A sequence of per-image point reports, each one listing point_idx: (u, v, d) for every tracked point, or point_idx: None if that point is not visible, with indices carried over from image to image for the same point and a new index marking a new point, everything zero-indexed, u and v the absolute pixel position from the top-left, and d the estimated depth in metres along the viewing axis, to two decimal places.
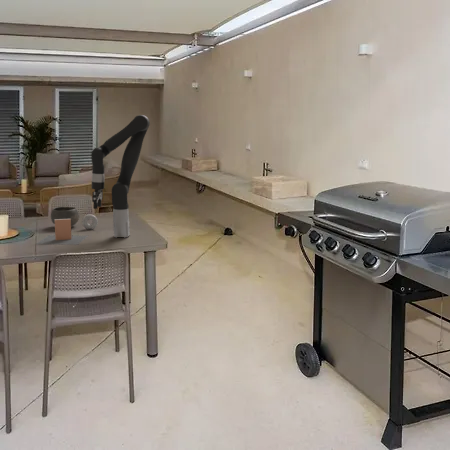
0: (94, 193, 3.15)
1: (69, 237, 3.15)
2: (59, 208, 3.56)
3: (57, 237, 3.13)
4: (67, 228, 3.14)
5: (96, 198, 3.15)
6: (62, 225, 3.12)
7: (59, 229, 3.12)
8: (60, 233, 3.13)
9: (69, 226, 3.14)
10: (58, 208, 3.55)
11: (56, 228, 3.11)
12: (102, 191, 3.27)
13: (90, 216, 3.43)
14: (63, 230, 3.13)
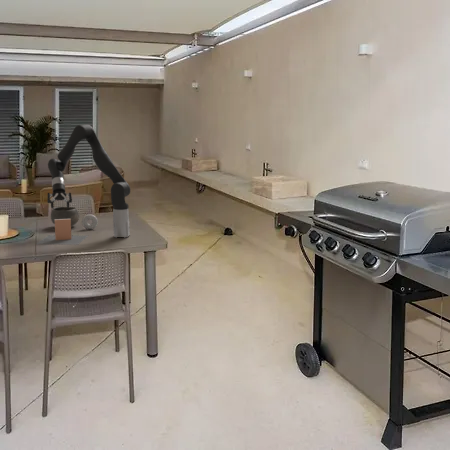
0: None
1: (69, 237, 3.15)
2: (59, 208, 3.56)
3: (57, 237, 3.13)
4: (67, 228, 3.14)
5: None
6: (62, 225, 3.12)
7: (59, 229, 3.12)
8: (60, 233, 3.13)
9: (69, 226, 3.14)
10: (58, 208, 3.55)
11: (56, 228, 3.11)
12: (69, 193, 3.28)
13: (90, 216, 3.43)
14: (63, 230, 3.13)
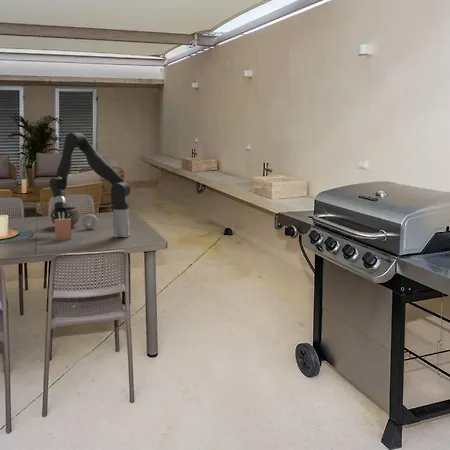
0: (51, 217, 3.21)
1: (69, 237, 3.15)
2: None
3: (57, 237, 3.13)
4: (67, 228, 3.14)
5: (54, 219, 3.20)
6: (62, 225, 3.12)
7: (59, 229, 3.12)
8: (60, 233, 3.13)
9: (69, 226, 3.14)
10: None
11: (56, 228, 3.11)
12: (70, 215, 3.24)
13: (90, 216, 3.43)
14: (63, 230, 3.13)
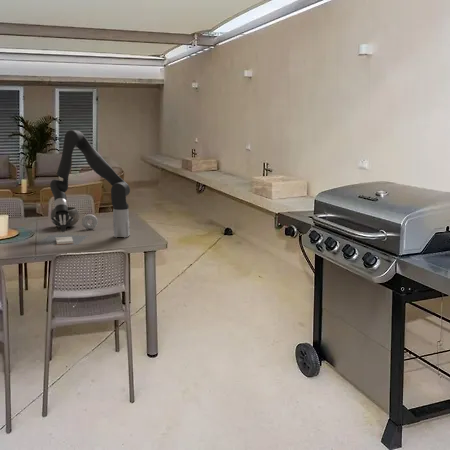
0: (52, 220, 3.13)
1: None
2: None
3: None
4: None
5: (55, 222, 3.12)
6: None
7: None
8: None
9: None
10: None
11: None
12: (71, 218, 3.16)
13: (90, 216, 3.43)
14: None
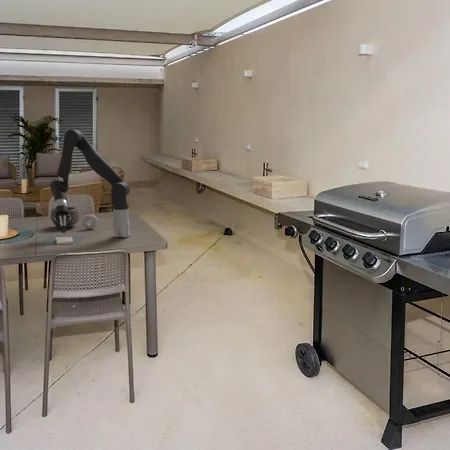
0: (52, 221, 3.10)
1: None
2: None
3: None
4: None
5: (56, 223, 3.09)
6: None
7: None
8: None
9: None
10: None
11: None
12: (72, 218, 3.13)
13: (90, 216, 3.43)
14: None
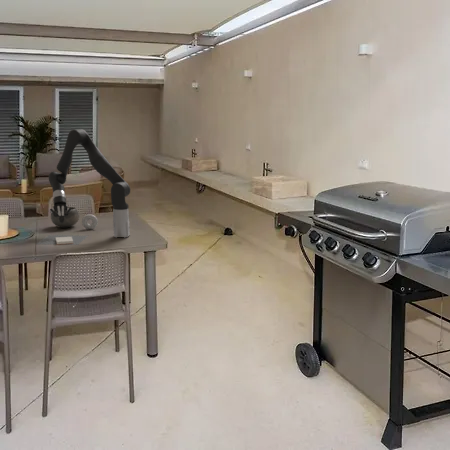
0: (50, 211, 3.21)
1: None
2: None
3: None
4: None
5: (54, 213, 3.20)
6: None
7: None
8: None
9: None
10: None
11: None
12: (69, 209, 3.24)
13: (90, 216, 3.43)
14: None
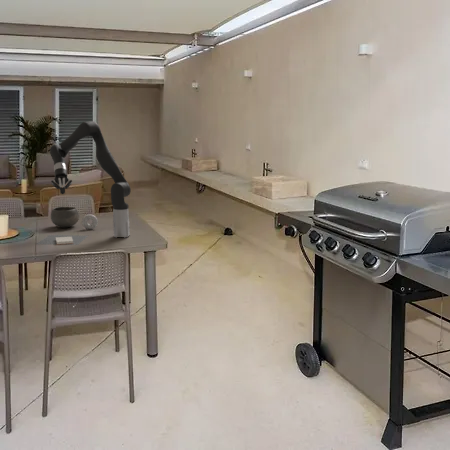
0: (51, 183, 3.26)
1: None
2: (59, 208, 3.56)
3: None
4: None
5: (55, 184, 3.24)
6: None
7: None
8: None
9: None
10: (58, 208, 3.55)
11: None
12: (70, 181, 3.29)
13: (90, 216, 3.43)
14: None
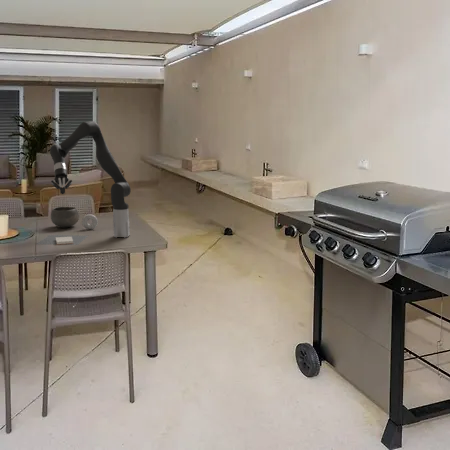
0: (51, 183, 3.26)
1: None
2: (59, 208, 3.56)
3: None
4: None
5: (55, 184, 3.24)
6: None
7: None
8: None
9: None
10: (58, 208, 3.55)
11: None
12: (70, 181, 3.29)
13: (90, 216, 3.43)
14: None
